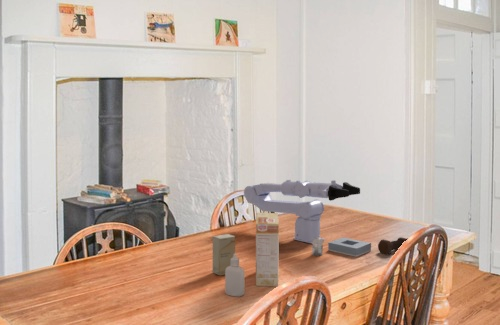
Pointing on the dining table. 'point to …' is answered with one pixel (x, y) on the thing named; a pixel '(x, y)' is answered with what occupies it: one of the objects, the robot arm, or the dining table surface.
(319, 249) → the pin
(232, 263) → the eye dropper bottle
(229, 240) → the skincare box
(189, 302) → the dining table surface
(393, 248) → the bolt
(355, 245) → the hole block
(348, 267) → the dining table surface
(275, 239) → the coffeecake box
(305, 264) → the dining table surface
